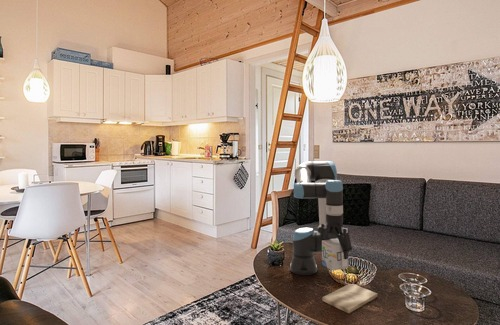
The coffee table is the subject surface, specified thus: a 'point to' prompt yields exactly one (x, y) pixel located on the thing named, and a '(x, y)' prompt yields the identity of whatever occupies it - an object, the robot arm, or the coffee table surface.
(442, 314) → the coffee table surface
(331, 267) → the ink box
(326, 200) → the robot arm
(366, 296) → the board
